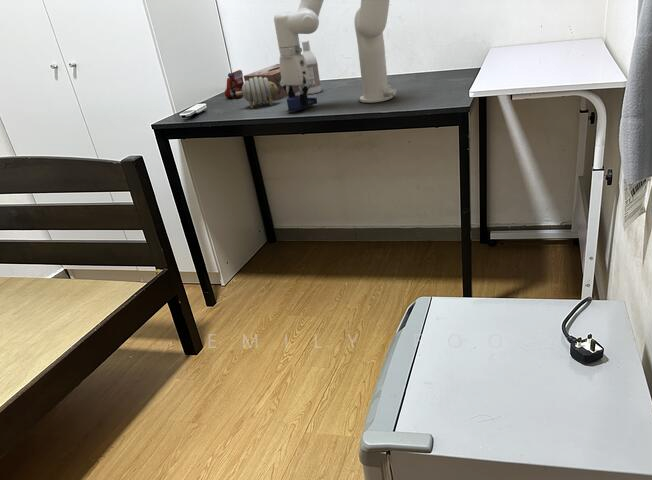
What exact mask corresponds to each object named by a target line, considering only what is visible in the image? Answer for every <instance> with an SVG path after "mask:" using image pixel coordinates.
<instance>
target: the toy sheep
mask: <svg viewBox="0 0 652 480" xmlns="http://www.w3.org/2000/svg"><path fill="white" fill-rule="evenodd" d="M277 93H278V87H277V86H276V85H275V84H274V83H272V82H270V81H268V79H267V78H266V77H265V78H262V77H259V78H257V77H254V78H253V79H252V78H250V79H249V81H244V84H243V86H242V91H239V92H236V96H239V95H242V98H244V99H245V100H246V101H247V102H249V107H250V109H254V108H255V107H254V105H255V106H258V105H260V106H262V105H263V104H267V103H268V105H269V106H273V104H274V103H273V100H272V99H271V95H275V94H277ZM236 96H235V97H236ZM267 98H268V100H267Z"/></svg>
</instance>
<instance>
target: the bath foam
mask: <svg viewBox="0 0 652 480" xmlns="http://www.w3.org/2000/svg"><path fill="white" fill-rule="evenodd" d="M301 46H302V52H301V55H303V56H304V58H305V61H306V65H307V69H308V74H309V80H310V81H311V83H312V85H311V86H310V87H309V89H308V92H307V95H313V94H318V93H321V92H322V86H321V85H322V84H321V78H320V72H319V65H318V60H317V57H316V56H315V54H314V53H313V52H312V50H311V46H310V40H302V41H301ZM305 85H306V84H305Z"/></svg>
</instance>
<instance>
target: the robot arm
mask: <svg viewBox="0 0 652 480" xmlns="http://www.w3.org/2000/svg"><path fill="white" fill-rule="evenodd" d="M323 3H324V0H300V2H299V7H298V9H297V11H296V12H291V11H286V12H279V13H276V14H274V15H273V22H274V28H275V34H276V40H277V44H278V45H277V46H278V51H279V64H280V73H281V81H280V85H281V86H282V87H283V88H284V89H285V91H286V93H287V94H288V96H287V97H288V98H290V97H293V96H296V92H293V86H298V88H299V95H300V100H301V105H302V106H303V105H306V104H308V100H307V98H308V94H307V92H308V89H309V87H310V86H311V85H312V83H311V81H310V80H309V74H308V69H307V65H306V61H305V58H304V56H303V55H302V53H303V47H301V44H300V38H299V37H300V36H299V35H311V34H313V33H315V32H316V31H317V30H318V28H319V25H320V21H319V20H320V19H319V16H320V13H321V9H322V6H323ZM389 8H390V0H360V7H359V8H358V9H357V10H356V12H355V14H354V21H353V22H354V29H355V30H354V31H355V36H356V42H357V43H356V44H357V51H358V59H359V69H360V77H361V86H362V94H363V95H361V96H359V101H360V102H361V103H366V104H372V103H373V104H374V103H381V102H382V103H383V102H386V101H389V100H392V99H393V97H394V96H396V94H397V89H396V88H392V87H391V84H389V82H388V72H387V61H386V48H385V47H386V46H385V40H384V34H383V33H384V31H385V29H386V26H387V23H388V15H389ZM305 84H306V85H305ZM302 86H303V89H302ZM288 98H287V99H288Z"/></svg>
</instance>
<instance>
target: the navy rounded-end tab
mask: <svg viewBox="0 0 652 480" xmlns="http://www.w3.org/2000/svg"><path fill="white" fill-rule="evenodd" d="M307 100H308V104H306V105H303V106H302V105H301V100H300V94H295V96H293V97H290V98H286V105H287V110H288V112H297V111H301V110H303V109H306V108H308V107H311V106H314V105H317V104H318V98H317V97H307Z"/></svg>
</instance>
